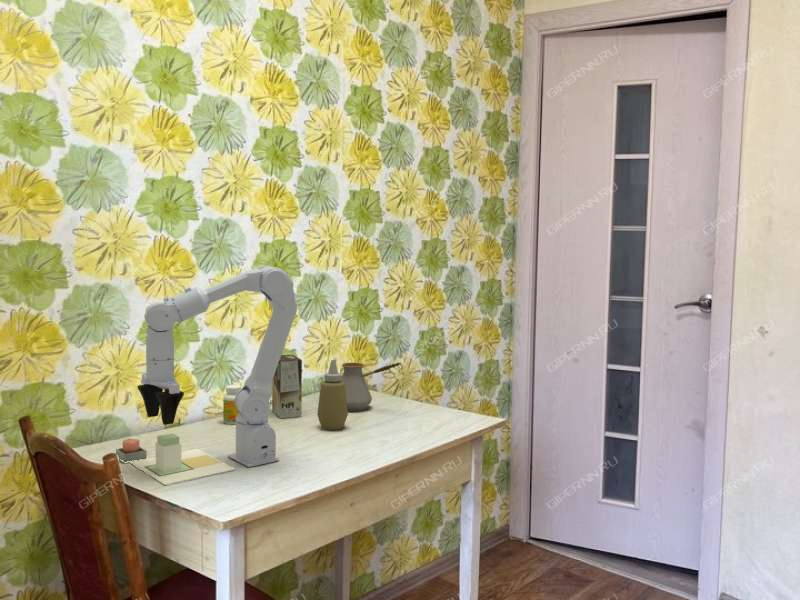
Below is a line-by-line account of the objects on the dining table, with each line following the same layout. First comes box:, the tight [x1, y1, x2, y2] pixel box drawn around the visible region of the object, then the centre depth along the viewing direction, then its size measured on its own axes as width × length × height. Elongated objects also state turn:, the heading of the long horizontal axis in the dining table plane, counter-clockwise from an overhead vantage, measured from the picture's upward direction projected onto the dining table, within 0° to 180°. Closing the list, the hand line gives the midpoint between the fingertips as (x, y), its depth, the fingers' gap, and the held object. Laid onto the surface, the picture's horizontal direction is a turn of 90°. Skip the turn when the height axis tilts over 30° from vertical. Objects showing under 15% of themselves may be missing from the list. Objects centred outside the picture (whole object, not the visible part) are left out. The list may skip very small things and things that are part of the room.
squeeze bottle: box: [316, 359, 349, 431], centre depth 200 cm, size 8×8×18 cm
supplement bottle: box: [222, 384, 242, 425], centre depth 203 cm, size 5×5×10 cm
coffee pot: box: [341, 362, 404, 412], centre depth 219 cm, size 21×12×15 cm, turn 65°
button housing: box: [115, 446, 147, 462], centre depth 171 cm, size 5×5×2 cm
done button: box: [122, 438, 141, 454], centre depth 171 cm, size 4×4×2 cm
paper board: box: [131, 448, 236, 486], centre depth 167 cm, size 18×16×1 cm
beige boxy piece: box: [155, 433, 182, 472], centre depth 164 cm, size 4×4×7 cm
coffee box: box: [271, 354, 303, 419], centre depth 213 cm, size 9×6×16 cm
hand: (160, 420), depth 165 cm, fingers open, 7 cm apart
